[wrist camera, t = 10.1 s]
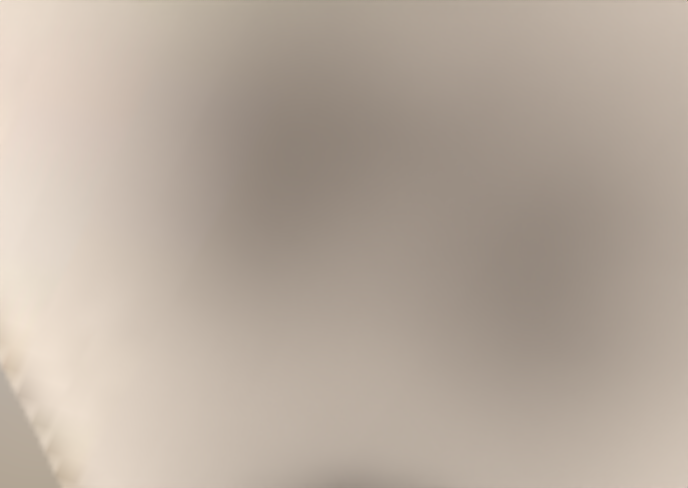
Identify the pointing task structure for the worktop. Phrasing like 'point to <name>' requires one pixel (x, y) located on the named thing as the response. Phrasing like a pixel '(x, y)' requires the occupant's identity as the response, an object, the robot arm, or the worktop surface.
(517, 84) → the worktop surface
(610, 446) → the worktop surface
